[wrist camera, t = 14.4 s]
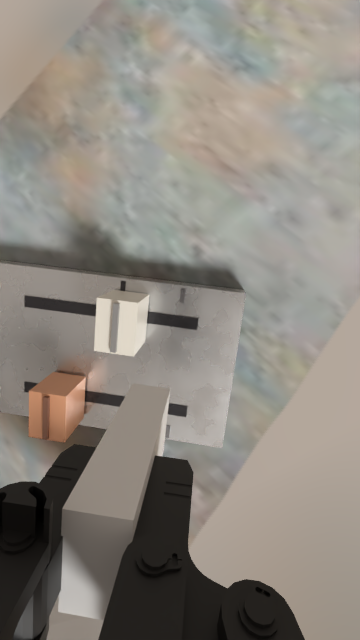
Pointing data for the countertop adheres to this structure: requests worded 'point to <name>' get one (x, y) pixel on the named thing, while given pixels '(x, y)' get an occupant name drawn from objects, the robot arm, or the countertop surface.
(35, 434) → the fader
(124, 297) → the block
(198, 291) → the console
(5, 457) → the countertop surface
